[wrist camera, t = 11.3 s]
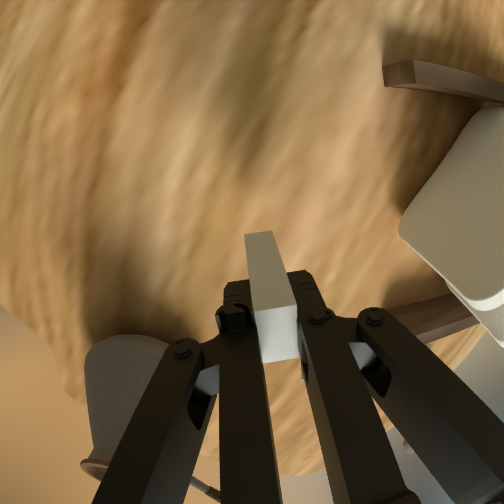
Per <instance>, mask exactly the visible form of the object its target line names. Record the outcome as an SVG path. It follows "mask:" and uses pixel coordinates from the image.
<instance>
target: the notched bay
mask: <svg viewBox="0 0 504 504" xmlns="http://www.w3.org/2000/svg"><path fill="white" fill-rule="evenodd" d="M382 70H383V77H384V85H385V87H397V88H408V89H417V90H425V91H432V92H438V93H445V94H450V95H456V96H461V97H466V98H471V99H475V100H480V101H484V102H488V103H492V104H496V105H500V106H503V107H504V83H501V82H498V81H496V80H493V79H490V78H487V77H484V76H480V75H477V74H474V73H470V72H467V71H463V70H459V69H456V68H452V67H447V66H443V65H439V64H434V63H429V62H424V61H419V60H408V61H404V62H399V63H395V64H391V65H387V66H383V67H382ZM388 312H389V313H390V314H392V315H393V316H394V317H395V318H396V319H397V320H398V321H399V322H400V323H402V324H403V325H404V326H405V327H406V328H407V329H408V330H409V331H410V332H411V333H413V334H414V335H415V336H416V337H417V338H418V339H419V340H420V341H421V342H422V343H423V344H426V343H429V342H432V341H434V340H437V339H440V338H443V337H445V336H448V335H451V334H453V333H456V332H459V331H461V330H464V329H466V328H469V327H471V326H474V325H476V324H478V323H480V322H479V320H478V319H477V318H476V317H475V316H474V315H473V314H472V313H471V312H470V311H469V309H468V308H467V307H466V306H465V305H464V304H463V303H462V302H461V301H460V300H459V299H458V298H457V297H456V296H455V295H454V294H453V293H451V294H447V295H444V296H441V297H437V298H434V299H430V300H426V301H423V302H419V303H415V304H412V305H408V306H404V307H400V308H396V309H392V310H388Z"/></svg>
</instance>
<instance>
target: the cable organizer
mask: <svg viewBox="0 0 504 504" xmlns="http://www.w3.org/2000/svg"><path fill="white" fill-rule="evenodd" d="M399 235H400V237H401V238H402V239H403V240H404V242H405V243H406V244H407V245H408V246H409V247H410V248H411V249H412V250H414V251H415V252H416V253H417V254H418V255H419V256H420V257H421V258H422V259H423V260H425V261H426V262H427V263H428V264H429V265H430V266H431V267H432V268H433V269H434V270H435V271H436V272H437V273H438V274H439V275H441V276H442V277H443V278H444V279H445V281H446V285H447V286H448V287H449V289H450V290H451V291H452V292H453V294H454V295H455V296H456V297H457V298H458V299H459V300H460V301H461V302H462V303H463V304H464V305H465V306H466V307H467V308H468V309H469V311H470V312H471V313H472V314H473V315H474V316H475V317H476V318H477V319H478V320H479V322H480V323H481V324H482V325H483V326H484V327H485V328H486V330H487V331H488V332H489V333H490V334H491V335H492V336H493V338H494V339H495V340H496V341H497V342H498V343H499V345H500V346H502V347H504V107H497V106H488V107H485V108H483V109H481V110H479V111H478V112H477V113H476V114H474V115H473V117H472V118H471V119H470V120H469V122H468V123H467V125H466V126H465V127H464V128H463V130H462V131H461V133H460V135H459V136H458V138H457V139H456V141H455V143H454V144H453V146H452V147H451V149H450V151H449V152H448V153H447V155H446V156H445V158H444V159H443V161H442V162H441V163H440V165H439V166H438V168H437V169H436V170H435V172H434V173H433V175H432V176H431V177H430V179H429V180H428V181H427V182H426V183H425V184H424V186H423V187H422V188H421V190H420V191H419V192H418V194H417V195H416V196H415V198H414V199H413V200H412V201H411V203H410V204H409V206H408V207H407V209H406V210H405V212H404V214H403V216H402V218H401V220H400V224H399Z"/></svg>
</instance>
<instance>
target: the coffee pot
mask: <svg viewBox="0 0 504 504" xmlns="http://www.w3.org/2000/svg"><path fill="white" fill-rule="evenodd" d="M168 346H169V344H168V343H166V342H164V341H162V340H160V339H157V338H155V337H151V336H147V335H137V334H120V335H115V336H110V337H107V338H106V339H104V340H102V341H100V342H99V343H97V344H95V345H94V346H93V347H92V348H91V349H90V351H89V352H88V353H87V355H86V358H85V365H84V372H85V385H86V396H87V405H88V413H89V420H90V427H91V434H92V440H93V445H94V449H93V451H92V452H91V454H90V456H89V457H88V459H84V460H82V461H81V464H80V465H81V468H82V469H83V470H84V471H85V472H86V473H87V474H88V475H90V476H92V477H93V478H95V479H97V480H99V481H100V482H101V481H102V479H103V477H104V475H105V472H106V470H107V468H108V466H109V464H110V462H111V459H112V457H113V455H114V453H115V451H116V449H117V447H118V445H119V442H120V440H121V438H122V436H123V434H124V432H125V430H126V428H127V426H128V424H129V422H130V420H131V418H132V416H133V413H134V411H135V409H136V407H137V405H138V403H139V401H140V399H141V397H142V395H143V393H144V391H145V389H146V387H147V385H148V383H149V381H150V379H151V377H152V375H153V373H154V372H155V370H156V368H157V366H158V364H159V362H160V360H161V358H162V356H163V354H164V352H165V350H166V349H167V347H168ZM190 485H192V486H194V487H195V488H197V489H199V490H201V491H202V492H204V493H205V494H206V495H208V496H209V497H211V498H213V499H214V500H216V501H218V502H219V503H221V494H220V491H219V490H217V489H214V488H213V487H211V486H208V485H206V484H204V483H203V482H201V481H200V480H198V479H197V478H195V477H193V476H192V477H191V480H190Z"/></svg>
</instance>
